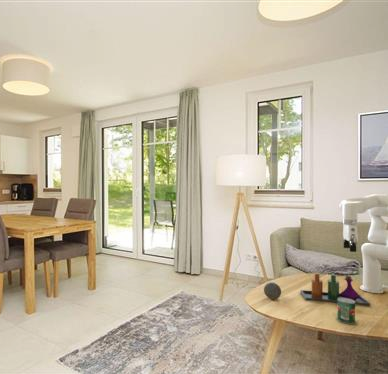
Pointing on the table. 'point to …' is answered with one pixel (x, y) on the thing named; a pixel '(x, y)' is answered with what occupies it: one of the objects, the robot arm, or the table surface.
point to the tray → (307, 296)
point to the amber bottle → (317, 287)
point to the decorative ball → (272, 290)
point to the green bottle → (333, 288)
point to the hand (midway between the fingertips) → (349, 249)
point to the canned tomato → (346, 310)
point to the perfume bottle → (349, 289)
